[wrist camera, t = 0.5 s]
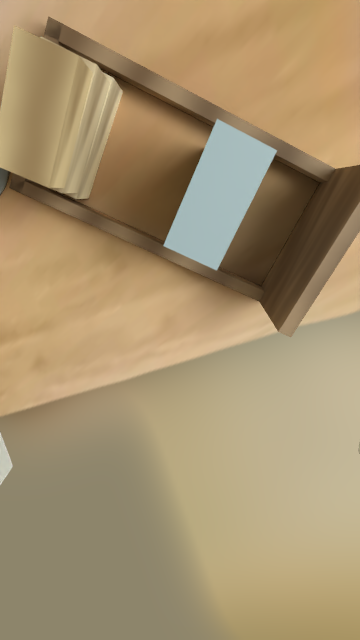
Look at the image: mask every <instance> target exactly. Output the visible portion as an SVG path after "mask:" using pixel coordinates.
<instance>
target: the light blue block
mask: <svg viewBox="0 0 360 640" xmlns="http://www.w3.org/2000/svg"><path fill="white" fill-rule="evenodd" d="M276 152H277V150H275V149H274V148H272V147H270V146H268V145H266V144H264V143H262V142H260V141H258V140H256V139H255V138H253V137H251V136H249V135H247V134H245V133H243V132H241V131H239V130H237V129H236V128H234V127H232V126H230V125H228V124H226V123H224V122H222V121H220V120H218V119H217V120H216V123H215V125H214V127H213V130H212V132H211V134H210V137H209V139H208V142H207V144H206V146H205V149H204V151H203V153H202V156H201V158H200V160H199V163H198V165H197V167H196V170H195V172H194V175H193V177H192V179H191V182H190V184H189V186H188V189H187V191H186V193H185V196H184V198H183V200H182V203H181V205H180V207H179V210H178V212H177V215H176V217H175V219H174V222H173V224H172V226H171V229H170V231H169V233H168V236H167V238H166V240H165V243H164V245H163V246H164V247H167V248H169V249H171V250H173V251H175V252H177V253H180V254H182V255H184V256H186V257H188V258H191V259H193V260H195V261H197V262H199V263H201V264H204V265H206V266H208V267H210V268H212V269H215V270H217V269H218V267H219V265H220V263H221V261H222V259H223V257H224V255H225V253H226V251H227V249H228V247H229V245H230V243H231V241H232V239H233V237H234V235H235V233H236V231H237V229H238V227H239V225H240V223H241V221H242V219H243V217H244V215H245V214H246V212H247V210H248V208H249V206H250V204H251V202H252V200H253V198H254V196H255V194H256V192H257V190H258V188H259V186H260V184H261V182H262V180H263V178H264V176H265V174H266V172H267V170H268V168H269V166H270V164H271V162H272V160H273V158H274V156H275V154H276Z"/></svg>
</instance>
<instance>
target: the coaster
mask: <svg viewBox="0 0 360 640" xmlns="http://www.w3.org/2000/svg"><path fill="white" fill-rule="evenodd" d="M8 178H9V171H7V170H5V169H3V168H0V195H1V193H2V192H3V190H4V189H5V186H6V184H7V181H8Z"/></svg>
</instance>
